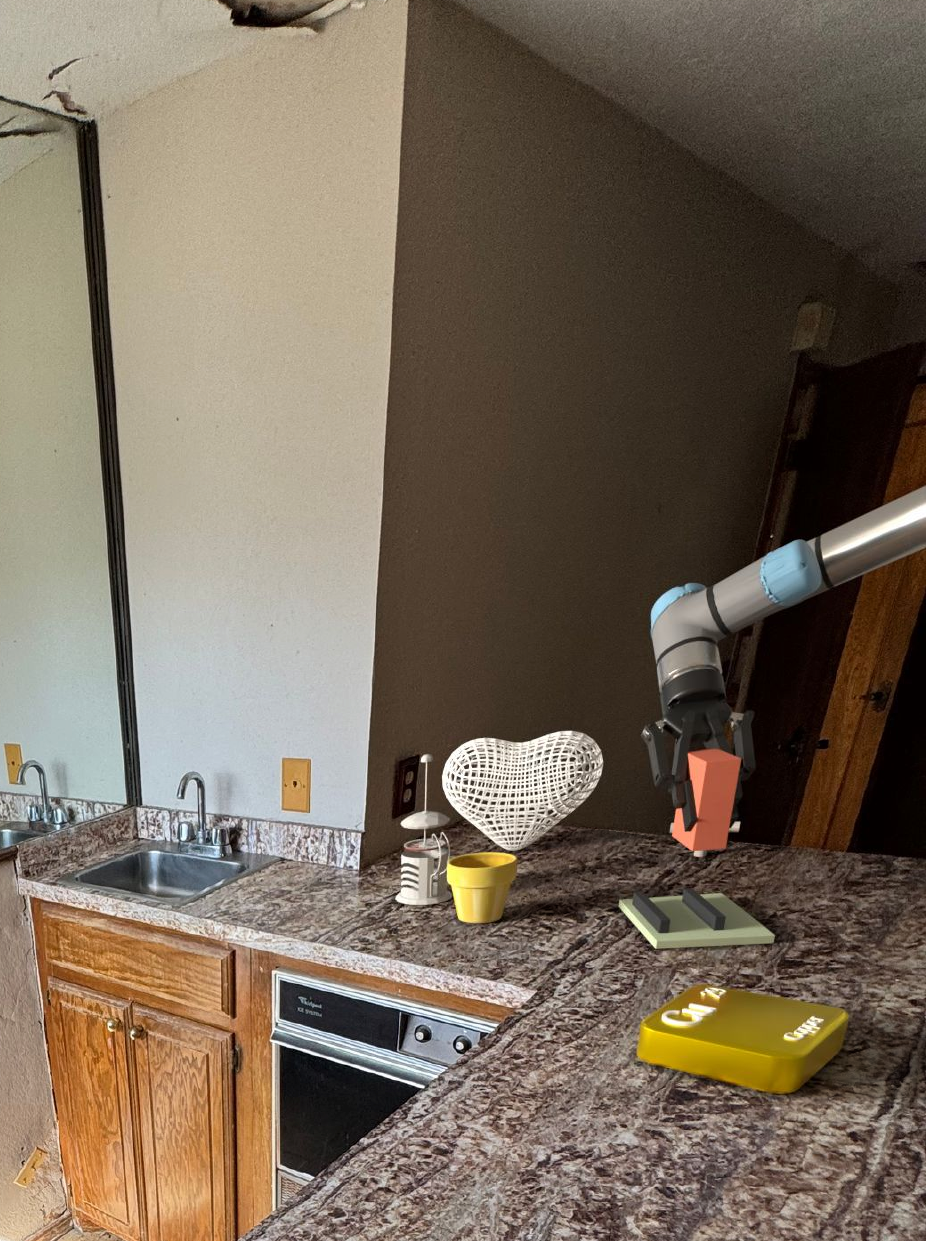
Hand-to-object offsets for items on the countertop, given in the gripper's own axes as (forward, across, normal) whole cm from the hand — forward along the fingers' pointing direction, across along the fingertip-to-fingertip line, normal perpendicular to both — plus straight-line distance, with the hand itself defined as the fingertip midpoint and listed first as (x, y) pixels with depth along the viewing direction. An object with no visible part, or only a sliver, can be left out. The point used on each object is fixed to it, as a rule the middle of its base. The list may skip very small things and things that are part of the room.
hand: (711, 824), depth 121 cm
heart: (-27, +16, -49) cm, 58 cm away
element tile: (+39, +7, +17) cm, 43 cm away
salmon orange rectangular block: (0, 0, -5) cm, 5 cm away
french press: (-7, +34, -29) cm, 46 cm away
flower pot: (+3, +27, -20) cm, 34 cm away
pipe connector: (-17, -12, -39) cm, 45 cm away
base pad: (+8, -1, -14) cm, 16 cm away
